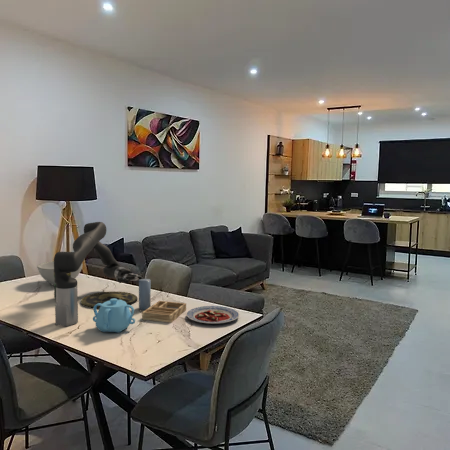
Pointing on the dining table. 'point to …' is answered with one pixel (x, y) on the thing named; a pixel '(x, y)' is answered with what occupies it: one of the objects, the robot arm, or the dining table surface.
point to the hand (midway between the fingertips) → (135, 280)
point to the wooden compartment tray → (164, 311)
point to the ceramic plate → (212, 314)
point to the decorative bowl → (48, 271)
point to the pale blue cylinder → (144, 294)
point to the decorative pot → (113, 316)
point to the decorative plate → (107, 298)
